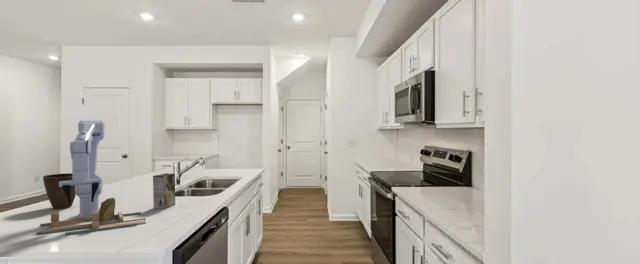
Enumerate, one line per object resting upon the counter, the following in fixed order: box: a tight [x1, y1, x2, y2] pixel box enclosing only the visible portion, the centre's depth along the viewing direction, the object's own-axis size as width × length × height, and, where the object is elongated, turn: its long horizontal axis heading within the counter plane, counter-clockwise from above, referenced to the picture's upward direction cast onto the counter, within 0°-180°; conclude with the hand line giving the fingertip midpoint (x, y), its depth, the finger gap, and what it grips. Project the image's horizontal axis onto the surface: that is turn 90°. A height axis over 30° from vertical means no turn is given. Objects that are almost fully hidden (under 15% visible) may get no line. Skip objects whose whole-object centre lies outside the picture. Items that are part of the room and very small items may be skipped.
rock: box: [99, 197, 116, 223], centre depth 153 cm, size 11×9×10 cm
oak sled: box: [48, 211, 124, 231], centre depth 150 cm, size 12×25×6 cm, turn 123°
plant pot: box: [42, 172, 77, 210], centre depth 178 cm, size 15×15×16 cm
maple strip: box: [91, 211, 147, 229], centre depth 148 cm, size 4×19×6 cm, turn 124°
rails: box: [36, 211, 146, 236], centre depth 148 cm, size 20×37×1 cm, turn 123°
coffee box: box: [152, 172, 176, 209], centre depth 182 cm, size 9×6×16 cm
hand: (81, 202), depth 147 cm, fingers open, 7 cm apart
